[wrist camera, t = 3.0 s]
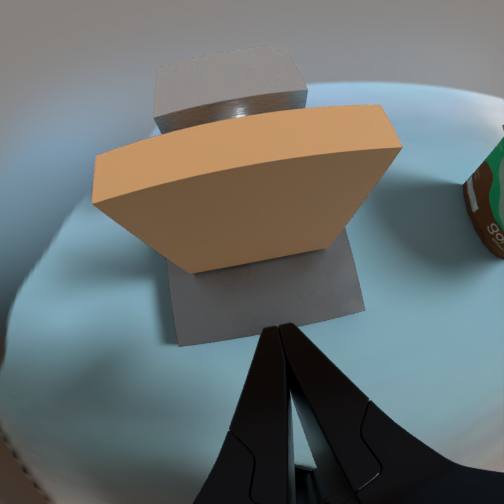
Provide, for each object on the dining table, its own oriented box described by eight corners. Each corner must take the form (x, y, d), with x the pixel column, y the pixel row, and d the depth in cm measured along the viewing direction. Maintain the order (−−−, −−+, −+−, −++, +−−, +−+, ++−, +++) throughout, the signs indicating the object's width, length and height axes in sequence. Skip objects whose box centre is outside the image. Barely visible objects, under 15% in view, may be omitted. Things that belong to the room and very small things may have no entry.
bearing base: (357, 311, 17) (427, 299, 9) (185, 344, 17) (120, 359, 9) (305, 128, 20) (318, 41, 12) (165, 154, 20) (122, 77, 12)
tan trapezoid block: (328, 247, 16) (402, 146, 6) (190, 273, 16) (92, 203, 6) (301, 155, 17) (324, 22, 8) (179, 177, 17) (114, 59, 8)
